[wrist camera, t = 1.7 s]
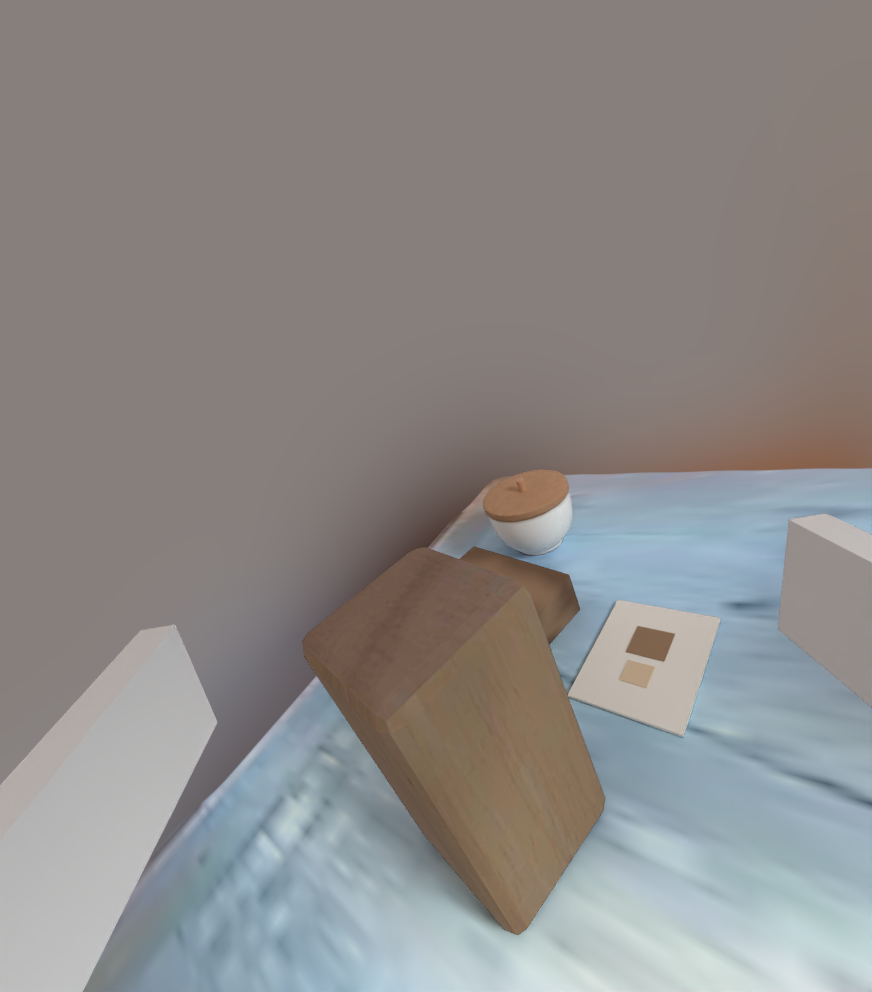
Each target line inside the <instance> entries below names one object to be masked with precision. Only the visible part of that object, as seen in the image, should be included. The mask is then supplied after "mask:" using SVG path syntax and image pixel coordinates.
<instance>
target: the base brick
mask: <svg viewBox="0 0 872 992" xmlns="http://www.w3.org/2000/svg"><path fill="white" fill-rule="evenodd" d="M460 560H463V561H465V562H468V563H471V564H474V565H477V566H480V567H483V568H485V569H488V570H491V571H494V572H497V573H500V574H502V575H505V576H508V577H511V578H514V579H516V580H517V581H518V582H520V583H521V584H522V585H523V586H524V587H525V588H526V589H527V591H528V592H529V593H530V595H531V597H532V600H533V603H534V606H535V608H536V611H537V614H538V617H539V619H540V622H541V625H542V627H543V630H544V633H545V636H546V638H547V641H548V644H549V645H550V643H551V642H552V641H553V640H554V639H555V638H556V637H557V635H558V634H559V633H560V632H561V631H562V630H563V628H564V627H565V626H566V625H567V624H568V623H569V622H570V620H571V619H572V618H573V617H574V616H575V615H576V614H577V612H578V611H579V610H580V607H579V604H578V601H577V598H576V595H575V592H574V588H573V585H572V582H571V579H570V576H569V575H568V574H564V573H561V572H558V571H554V570H551V569H548V568H544V567H541V566H538V565H534V564H531V563H528V562H524V561H521V560H518V559H514V558H511V557H508V556H504V555H501V554H498V553H494V552H491V551H487V550H484V549H481V548H477V547H473V548H472V549H470V550H469V551H468V552H467V553H466V554H465V555H463V556H462V557H461V558H460Z"/></svg>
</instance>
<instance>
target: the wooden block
mask: <svg viewBox="0 0 872 992" xmlns="http://www.w3.org/2000/svg"><path fill="white" fill-rule="evenodd" d="M302 642H303V649H304V657H305V659H306V660H307V662H308V663H309V665H310V666H311V668H312V669H313V671H314V672H315V674H316V675H317V677H318V678H319V680H320V681H321V683H322V684H323V686H324V687H325V689H326V690H327V692H328V693H329V695H330V696H331V697H332V699H333V700H334V702H335V703H336V705H337V706H338V708H339V709H340V711H341V712H342V714H343V715H344V717H345V718H346V720H347V721H348V723H349V724H350V726H351V727H352V729H353V730H354V732H355V733H356V735H357V736H358V738H359V739H360V741H361V742H362V744H363V745H364V746H365V748H366V749H367V751H368V752H369V754H370V755H371V757H372V758H373V760H374V761H375V763H376V764H377V766H378V767H379V769H380V770H381V772H382V773H383V775H384V776H385V778H386V779H387V781H388V782H389V784H390V785H391V787H392V788H393V790H394V791H395V793H396V794H397V796H398V797H399V798H400V800H401V801H402V803H403V804H404V806H405V807H406V809H407V810H408V812H409V813H410V815H411V816H412V818H413V819H414V821H415V822H416V824H417V825H418V827H419V828H420V830H421V831H422V833H423V834H424V835H425V836H426V838H427V839H428V840H429V841H430V842H431V844H432V845H433V846H434V847H435V848H436V849H437V851H438V852H439V853H440V854H441V855H442V857H443V858H444V859H445V860H446V861H447V862H448V864H449V865H450V866H451V867H452V868H453V870H454V871H455V872H456V873H457V874H458V875H459V877H460V878H461V879H462V880H463V881H464V883H465V884H466V885H467V886H468V887H469V888H470V890H471V891H472V892H473V893H474V894H475V896H476V897H477V898H478V899H479V900H480V901H481V903H482V904H483V905H484V906H485V907H486V909H487V910H488V911H489V912H490V913H491V914H492V916H493V917H494V918H495V919H496V920H497V922H498V923H499V924H500V925H501V926H502V927H503V929H505V930H507V931H509V932H512V933H514V934H516V935H519V934H521V933H522V932H523V931H524V930H526V929H527V928H528V926H529V925H530V923H531V922H532V920H533V918H534V917H535V915H536V914H537V912H538V911H539V909H540V908H541V906H542V905H543V903H544V901H545V900H546V898H547V897H548V895H549V894H550V892H551V891H552V889H553V888H554V886H555V885H556V883H557V881H558V880H559V878H560V877H561V875H562V874H563V872H564V871H565V869H566V868H567V866H568V864H569V863H570V861H571V860H572V858H573V857H574V855H575V854H576V852H577V851H578V849H579V847H580V846H581V844H582V843H583V841H584V840H585V838H586V837H587V835H588V834H589V832H590V830H591V829H592V827H593V826H594V824H595V823H596V821H597V820H598V818H599V817H600V815H601V814H602V812H603V809H604V803H605V796H604V794H603V791H602V788H601V785H600V783H599V780H598V777H597V775H596V772H595V769H594V766H593V764H592V761H591V758H590V755H589V753H588V750H587V747H586V745H585V742H584V739H583V736H582V734H581V731H580V728H579V726H578V723H577V720H576V717H575V715H574V712H573V709H572V706H571V704H570V701H569V698H568V696H567V693H566V690H565V687H564V685H563V682H562V679H561V676H560V674H559V671H558V668H557V666H556V663H555V660H554V657H553V655H552V652H551V649H550V646H549V644H548V641H547V638H546V636H545V633H544V630H543V627H542V625H541V622H540V619H539V617H538V614H537V611H536V608H535V606H534V603H533V600H532V597H531V595H530V593H529V592H528V591H527V589H526V588H525V587H524V586H523V585H522V584H521V583H520V582H518V581H517V580H516V579H514V578H511V577H508V576H505V575H502V574H500V573H497V572H494V571H491V570H488V569H485V568H483V567H480V566H477V565H474V564H471V563H468V562H465V561H463V560H460V559H457V558H454V557H451V556H448V555H446V554H443V553H440V552H437V551H434V550H431V549H429V548H425V547H423V548H418V549H416V550H413V551H411V552H409V553H408V554H407V555H405V556H404V557H403V558H402V559H400V560H399V561H398V562H397V563H395V564H394V565H393V566H392V567H391V568H389V569H388V570H387V571H385V572H384V573H383V574H381V575H380V576H379V577H378V578H376V579H375V580H374V581H373V582H371V583H370V584H369V585H368V586H366V587H365V588H364V589H362V590H361V591H360V592H359V593H358V594H356V595H355V596H354V597H352V598H351V599H350V600H349V601H347V602H346V603H345V604H344V605H342V606H341V607H340V608H338V609H337V610H336V611H335V612H333V613H332V614H331V615H330V616H329V617H327V618H326V619H325V620H324V621H322V622H321V623H319V624H318V625H317V626H316V627H315V628H313V629H312V630H311V631H310V632H308V634H307V635H306V637H305V638H304V639H303V641H302Z"/></svg>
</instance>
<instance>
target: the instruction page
mask: <svg viewBox="0 0 872 992" xmlns="http://www.w3.org/2000/svg"><path fill="white" fill-rule="evenodd" d="M720 622H721V618H718V617H712V616H707V615H701V614H695V613H690V612H684V611H678V610H673V609H667V608H662V607H656V606H650V605H645V604H639V603H633V602H628V601H622V600H617V602H616V604H615V606H614V608H613V610H612V612H611V614H610V615H609V617H608V619H607V621H606V623H605V625H604V627H603V629H602V631H601V632H600V634H599V636H598V638H597V640H596V642H595V644H594V646H593V648H592V649H591V651H590V653H589V655H588V657H587V659H586V661H585V663H584V665H583V666H582V668H581V670H580V672H579V674H578V676H577V678H576V680H575V682H574V683H573V685H572V687H571V689H570V691H569V693H568V697H569V698H571V699H574V700H577V701H580V702H583V703H586V704H589V705H592V706H594V707H597V708H600V709H603V710H606V711H609V712H612V713H614V714H617V715H620V716H623V717H626V718H629V719H632V720H635V721H637V722H640V723H643V724H646V725H649V726H652V727H655V728H657V729H660V730H663V731H666V732H669V733H672V734H675V735H678V736H680V737H684V734H685V731H686V728H687V725H688V722H689V719H690V715H691V712H692V709H693V706H694V703H695V700H696V697H697V694H698V691H699V687H700V684H701V681H702V678H703V675H704V672H705V669H706V666H707V662H708V659H709V656H710V653H711V650H712V647H713V644H714V641H715V637H716V634H717V631H718V628H719V625H720Z"/></svg>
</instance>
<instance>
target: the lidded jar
mask: <svg viewBox="0 0 872 992" xmlns="http://www.w3.org/2000/svg"><path fill="white" fill-rule="evenodd" d="M483 508H484V510H485V512H486V514H487V516H488V518H489V520H490V523H491V525H492V527H493V529H494V531H495V532H496V534H497V535H498V537H499V538H500V539H501V540H502V541H503V542H504V543H505V544H506V545H508V546H509V547H511V548H513V549H515V550H517V551H520V552H521V553H523V554H526V555H541V554H545V553H548V552H550V551H552V550H554V549H556V548H557V547H558V546H559V545H560V544H561V543H562V541H563V538H564V537H565V536H566V534H567V533H568V531H569V528H570V526H571V522H572V516H573V509H572V502H571V496H570V492H569V486H568V482H567V479H566V477H565V476H564V475H562V474H561V473H559V472H556V471H552V470H535V471H529V472H525V473H521V474H518V475H515V476H512V477H510V478H508V479H506V480H504V481H502V482H500V483H499V484H497V485H496V486H494V487H493V488H492V489H491V490H490V491H489V492H488V493H487V494H486V496H485V498H484V500H483Z"/></svg>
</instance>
